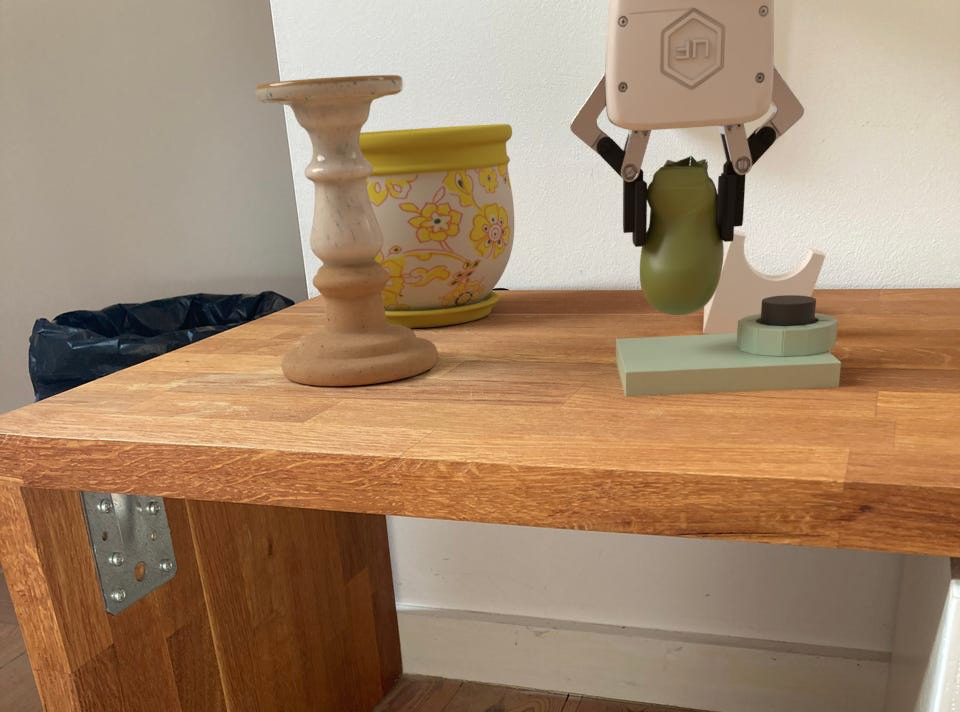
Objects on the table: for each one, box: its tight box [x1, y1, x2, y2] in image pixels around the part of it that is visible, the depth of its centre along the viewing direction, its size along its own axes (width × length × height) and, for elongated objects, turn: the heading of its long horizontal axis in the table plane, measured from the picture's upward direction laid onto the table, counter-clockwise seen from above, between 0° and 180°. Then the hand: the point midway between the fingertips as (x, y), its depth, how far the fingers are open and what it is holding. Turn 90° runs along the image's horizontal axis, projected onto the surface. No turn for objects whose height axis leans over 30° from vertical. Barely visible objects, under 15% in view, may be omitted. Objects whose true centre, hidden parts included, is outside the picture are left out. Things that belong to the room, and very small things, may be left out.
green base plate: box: [615, 312, 842, 397], centre depth 72 cm, size 15×11×4 cm
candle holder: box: [254, 74, 439, 387], centre depth 77 cm, size 12×12×20 cm
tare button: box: [760, 295, 817, 326], centre depth 71 cm, size 4×4×2 cm
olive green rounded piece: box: [639, 155, 725, 316], centre depth 69 cm, size 6×5×10 cm
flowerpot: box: [359, 123, 515, 329], centre depth 97 cm, size 18×18×16 cm
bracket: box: [702, 229, 826, 335], centre depth 85 cm, size 13×7×8 cm, turn 169°
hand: (681, 238), depth 69 cm, fingers closed on olive green rounded piece, 5 cm apart
